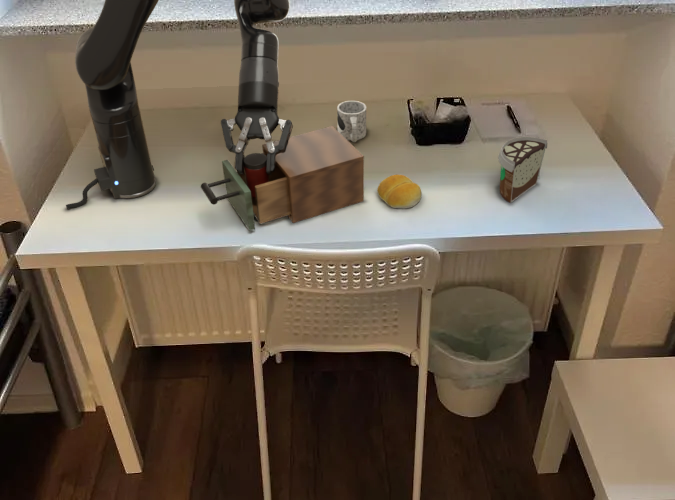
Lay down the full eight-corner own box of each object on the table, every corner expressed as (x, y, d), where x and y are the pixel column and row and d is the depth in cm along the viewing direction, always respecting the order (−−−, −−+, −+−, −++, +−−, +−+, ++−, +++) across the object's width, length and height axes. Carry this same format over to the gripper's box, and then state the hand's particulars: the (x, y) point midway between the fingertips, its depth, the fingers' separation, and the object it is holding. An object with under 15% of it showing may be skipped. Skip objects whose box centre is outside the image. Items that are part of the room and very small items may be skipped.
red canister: (245, 197, 136) (241, 165, 132) (249, 185, 140) (245, 152, 135) (268, 198, 136) (265, 165, 131) (271, 185, 139) (268, 153, 135)
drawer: (221, 239, 132) (214, 201, 127) (200, 205, 141) (193, 168, 135) (318, 209, 139) (316, 171, 134) (292, 179, 148) (289, 142, 142)
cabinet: (293, 223, 137) (289, 177, 131) (266, 188, 147) (262, 144, 140) (363, 201, 143) (363, 156, 136) (333, 169, 152) (332, 125, 145)
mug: (336, 127, 166) (336, 101, 162) (364, 125, 167) (364, 99, 162) (339, 148, 159) (339, 122, 154) (369, 147, 159) (369, 120, 155)
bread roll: (397, 215, 139) (397, 198, 136) (371, 193, 145) (371, 177, 142) (430, 201, 142) (431, 185, 139) (404, 181, 148) (404, 164, 145)
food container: (515, 170, 150) (522, 128, 144) (540, 181, 147) (548, 139, 141) (481, 194, 144) (486, 151, 137) (506, 206, 140) (513, 163, 134)
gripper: (217, 79, 131) (213, 169, 130) (293, 79, 131) (290, 170, 129) (225, 92, 139) (221, 177, 137) (297, 93, 138) (295, 178, 136)
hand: (255, 173), depth 133 cm, fingers open, 4 cm apart
